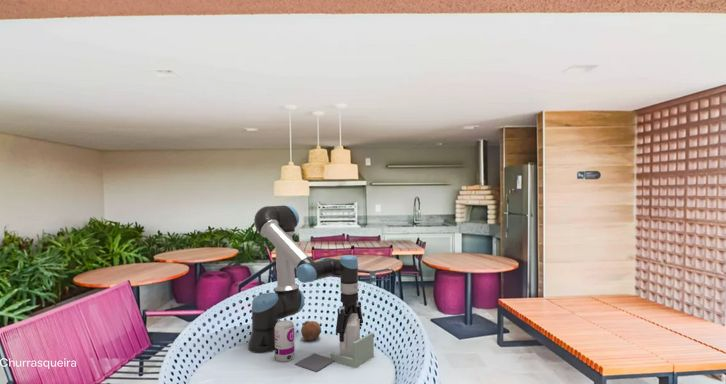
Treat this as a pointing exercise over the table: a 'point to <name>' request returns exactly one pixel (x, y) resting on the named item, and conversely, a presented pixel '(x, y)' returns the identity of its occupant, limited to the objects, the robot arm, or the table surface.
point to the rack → (357, 352)
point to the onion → (311, 330)
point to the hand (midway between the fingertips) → (350, 344)
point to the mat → (315, 362)
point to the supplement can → (284, 341)
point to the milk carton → (351, 335)
